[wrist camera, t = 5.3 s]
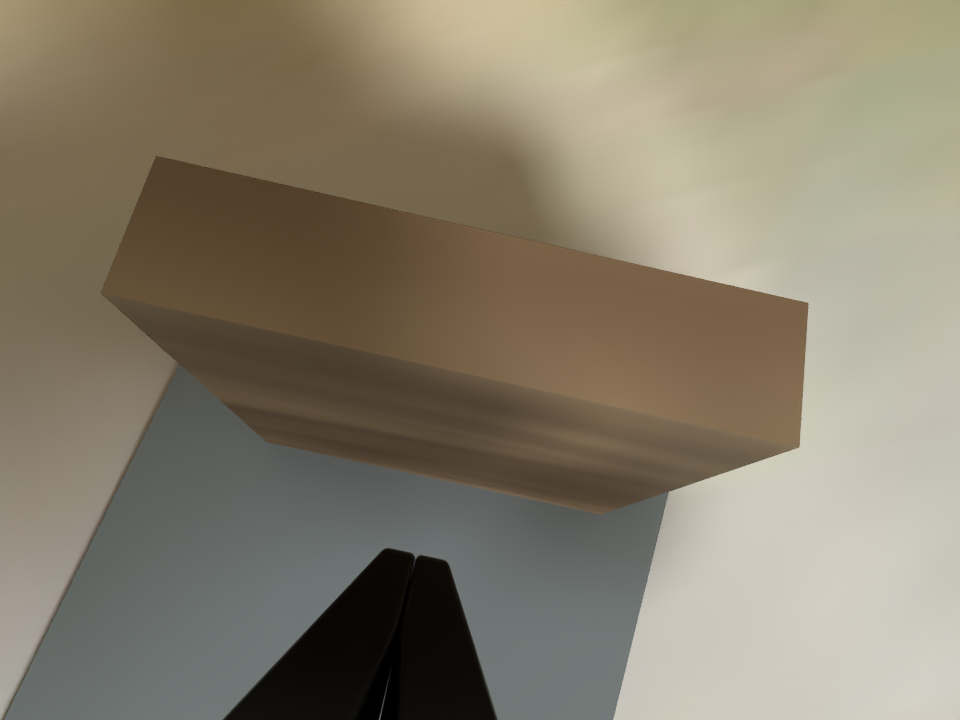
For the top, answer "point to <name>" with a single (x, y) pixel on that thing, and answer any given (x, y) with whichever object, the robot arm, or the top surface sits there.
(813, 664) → the top surface
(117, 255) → the board
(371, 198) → the top surface
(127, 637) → the mat
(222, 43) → the top surface
